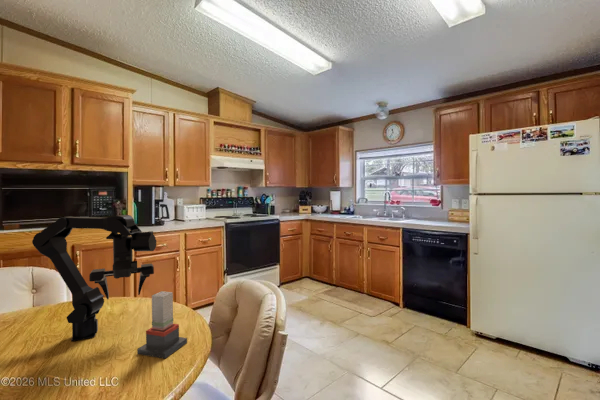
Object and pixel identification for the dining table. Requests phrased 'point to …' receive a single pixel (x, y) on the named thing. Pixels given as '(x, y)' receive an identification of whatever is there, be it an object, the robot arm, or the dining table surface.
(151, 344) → the stand
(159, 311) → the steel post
